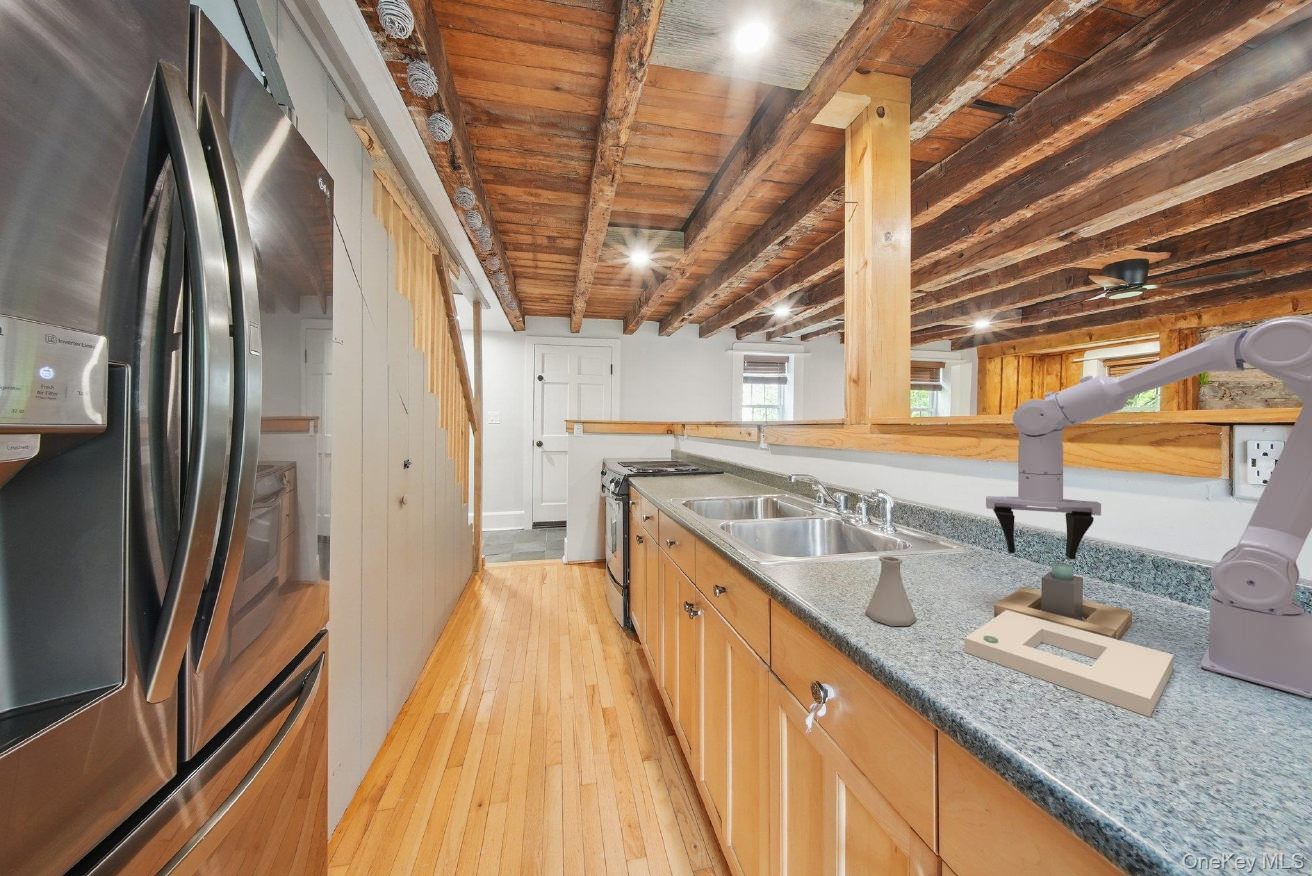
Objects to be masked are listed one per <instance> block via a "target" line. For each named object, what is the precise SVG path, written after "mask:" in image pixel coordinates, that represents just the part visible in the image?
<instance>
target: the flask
mask: <svg viewBox="0 0 1312 876" xmlns="http://www.w3.org/2000/svg"><path fill="white" fill-rule="evenodd" d="M878 561H880V563H881V564H880V566H881V567H880V574H879V579H878V581H877V584H876V587H875V589H874V591H873V594H872V597H871V598H870V601H869V604H868V606H867V607H866V610H865V612H864V614H865V615H867V616H868V617H869V618H870V619H872V620H873V621H875V622H878V623H881V624H884V625H888V626H890V627H897V626H900V627H901V626H902V627H903V626H906V627H907V626H911V625H912V624H914V623H915V622H917V621H918V620H917V616H916V614H915V611H914V610H913V607H912V605H911V602H910V600H909V597H908V594H907V592H906V590H905V589H906V588H905V586H904V583H903V580H902V579H903V578H902V574H901V564H902V563H903V558H902V559H901V558H899V557H897V556H891V555H882V556H880V557H879V559H878Z"/></svg>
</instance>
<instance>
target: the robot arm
mask: <svg viewBox="0 0 1312 876" xmlns="http://www.w3.org/2000/svg"><path fill="white" fill-rule="evenodd" d="M1244 364H1247V365H1249V366H1251V367H1252V368H1255V369H1257V370H1258V371H1260V372H1262V373H1264V374H1267V376H1271V377H1273V378H1275V379H1277V380H1279V381H1282V384H1283V385H1284V386H1285V387H1286V388H1287V389H1288V390H1289V391H1291V392H1292V393H1293V394H1294V395H1295V396H1296V397H1297V398H1299V400H1300V401H1302V403H1303V405H1302V408H1301V410H1300V412H1299V414H1298V416H1297V419H1296V420H1295V423H1294V425H1293V427H1292V429H1291V431H1290V434H1289V435H1288V438H1287V440H1286V442H1285V444H1284V446H1283V448H1282V450H1281V452H1280V455H1279V456H1278V459H1277V462H1276V464H1275V466H1274V468H1273V470H1272V472H1271V474H1270V476H1269V479H1268V481H1267V483H1266V485H1265V487H1264V489H1263V491H1262V493H1261V496H1260V498H1259V500H1258V502H1257V504H1256V506H1255V508H1254V511H1253V513H1252V515H1251V517H1250V519H1249V521H1248V523H1247V525H1246V527H1245V530H1244V531H1243V534H1242V535H1241V537H1240V539H1239V541H1238V542H1237V545H1236V546H1235V547H1233V548H1231V549H1229V550H1228V551H1226V552H1225V553H1224V554H1223V556H1222V558H1221V559H1220V561H1218V562H1217V563H1216V564H1215V565H1214V566H1213V568H1212V570H1211V572H1210V573H1211V574H1210V577H1211V582H1212V585H1213V586H1214V588H1215V589H1212V590H1210V592H1209V593H1210V594H1209V595H1210V596H1209V622H1208V623H1209V629H1208V630H1209V631H1208V647H1207V648H1206V650H1205V652H1204V654H1203V658H1202V660H1201V662H1200V667H1201V668H1202V669H1205V670H1208V671H1212V672H1215V673H1219V674H1222V675H1225V676H1228V677H1229V676H1230V677H1234V678H1236V679H1240V680H1245V681H1249V682H1252V683H1255V684H1259V685H1263V686H1266V687H1270V688H1273V689H1277V690H1281V691H1285V692H1288V693H1292V694H1296V695H1298V696H1303V697H1306V698H1309V699H1312V613H1309V612H1306V611H1304V605H1302V604H1301V603H1298V601H1297V600H1296V599H1295V598H1294V597H1295V594H1296V590H1297V588H1296V585H1297V584H1298V582H1299V580H1300V570H1299V568H1298V565H1297V560H1298V558H1299V555H1300V553H1301V551H1302V548H1303V547H1304V544H1305V542H1306V541H1307V538H1308V537H1309V535H1310V532H1311V531H1312V319H1310V318H1306V317H1299V316H1286V317H1285V316H1283V317H1278V318H1273V319H1270V320H1267V321H1264V322H1262V323H1260V324H1258V325H1256V326H1254V327H1252V328H1251V330H1249V329H1247V328H1243V329H1240V330H1235V331H1232V332H1229V333H1227V334H1224V335H1220V336H1217V337H1215V338H1212V339H1208V340H1206V341H1204V342H1202V343H1198V344H1197V345H1194V346H1192V347H1190V348H1186V349H1185V350H1182V351H1179V352H1177V353H1175V354H1173V355H1170V356H1167V357H1165V358H1163V359H1162V358H1161V359H1160V360H1157V361H1156V362H1153V363H1150V364H1148V365H1146V366H1144V367H1143V366H1142V367H1141V368H1138V369H1137V370H1133V371H1131V372H1129V373H1127V374H1124V375H1121V376H1118V377H1112V376H1108V375H1102V374H1100V375H1097V376H1095V377H1093V375H1086V376H1084V377H1082V378H1079V382H1080V383H1078V384H1075V385H1072V386H1070V387H1067V388H1065V389H1062V390H1059V391H1057V392H1054V391H1049V392H1046V393H1044V397H1045V398H1044V399H1039V398H1033V399H1028V400H1026V401H1025V402H1023V403H1021V404H1019V406H1018V407H1016V409H1015V410H1014V412H1013V415H1012V423H1013V425H1014V427H1015V428H1016V429H1017V430H1018V446H1017V450H1018V451H1017V454H1018V455H1017V462H1018V463H1017V466H1018V467H1017V469H1018V473H1017V474H1018V475H1017V477H1018V484H1017V485H1018V491H1017V492H1018V493H1017V494H1018V495H1017V496H993V495H991V496H990V495H986V496H985V507H986V509H987V510H992V511H993V513H994V514H995V515H996V518H997V520H998V522H999V524H1000V526H1001V530H1002V531H1003V534H1004V538H1005V541H1006V546H1007V551H1008V554H1015V552H1016V547H1015V535H1014V533H1015V532H1014V531H1015V518H1016V517H1015V515H1014V511H1013V510H1016V511H1032V512H1046V513H1047V512H1049V513H1065V515H1064V516H1065V522H1066V523H1065V524H1066V525H1065V526H1066V545H1065V555H1066V558H1068V560H1076V556H1077V552H1078V549H1079V547H1080V544H1081V541H1082V540H1083V537H1084V536H1085V535H1086V533H1087V531H1088V530H1089V529H1090V527H1092V525H1093V523H1094V519H1095V518H1094V517H1093V516H1102V503H1101V502H1098V501H1094V500H1092V501H1090V500H1079V499H1066V498H1064V444H1063V431H1064V430H1065V429H1066V428H1067V426H1071V427H1073V426H1077V425H1079V424H1083V423H1085V422H1089V421H1090V420H1094V419H1097V418H1100V417H1102V416H1106V415H1109V414H1112V413H1114V412H1118V411H1121V410H1123V409H1124V407H1125V406H1126V404H1127V402H1128V401H1129V399H1130V398H1131V397H1133V396H1136V395H1140V394H1144V393H1146V392H1150V391H1152V390H1155V389H1158V388H1161V387H1164V386H1166V385H1170V384H1175V383H1177V382H1180V381H1182V380H1186V379H1189V378H1192V377H1196V376H1199V375H1201V374H1204V373H1211V372H1245V368H1244V367H1245V366H1244Z"/></svg>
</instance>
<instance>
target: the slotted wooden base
mask: <svg viewBox="0 0 1312 876" xmlns="http://www.w3.org/2000/svg"><path fill="white" fill-rule="evenodd" d="M993 605H994V607H993V608H994V609H993V613H994V614H993V618H995V617H997V616H998V615H1000V614H1001V613H1003V612H1004V611H1006V610H1009V611H1012V612H1016V613H1020V614H1023V615H1027V616H1031V617H1035V618H1038V619H1042V620H1046V621H1050V622H1053V623H1057V624H1061V625H1064V626H1068V627H1072V628H1076V629H1079V630H1083V631H1087V632H1091V633H1094V634H1098V635H1102V636H1106V637H1109V638H1113V639H1117V640H1121V638H1122V637H1123V635H1124V634H1125V633H1126V632H1127V630H1128V629H1129V628H1130V627H1131V625H1132V624H1133V610H1129V609H1125V608H1121V607H1116V606H1112V605H1108V604H1104V603H1103V604H1102V603H1099V602H1094V601H1090V600H1085V599H1083V609H1082V618H1083V619H1084V618H1085V620H1084V621H1083V620H1082V621H1080V620H1076V619H1072V618H1068V617H1064V616H1060V615H1056V614H1052V613H1049V612H1045V611H1041V589H1036V588H1032V587H1029V586H1024V585H1023V586H1022V587H1019V588H1018V589H1017V590H1015V591H1014V592H1012V593H1011V594H1009V595H1008V596H1006V597H1004V598H1002V599H1001V600H999V601H998V602H996V603H994V604H993Z"/></svg>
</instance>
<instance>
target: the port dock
mask: <svg viewBox="0 0 1312 876" xmlns="http://www.w3.org/2000/svg"><path fill="white" fill-rule="evenodd" d="M963 643H964V645H963V647H964V649H963V652H964V653H966V654H969V655H972V656H975V657H977V658H981V659H983V660H986V661H989V662H991V663H995V664H998V665H1000V666H1003V667H1006V668H1009V669H1012V670H1014V671H1017V672H1020V673H1023V674H1026V675H1029V676H1032V677H1035V678H1037V679H1040V680H1043V681H1045V682H1049V683H1051V684H1054V685H1057V686H1060V687H1063V688H1066V689H1069V690H1072V691H1075V692H1077V693H1080V694H1082V695H1085V696H1088V697H1091V698H1094V699H1097V700H1100V701H1103V702H1106V703H1107V704H1111V705H1114V706H1117V707H1120V708H1123V709H1125V710H1128V711H1132V712H1135V713H1137V714H1139V715H1141V716H1142V715H1143V716H1146V717H1149V718H1151V716H1152V713H1153V711H1154V710H1155V708H1156V706H1157V704H1158V702H1159V699H1160V698H1161V695H1162V693H1163V692H1164V690H1165V688H1166V686H1167V683H1168V681H1169V680H1170V678H1171V675H1172V673H1173V671H1174V658H1175V657H1174V656H1175V654H1174V653H1172V654H1171V653H1168V652H1165V651H1161V650H1158V649H1154V648H1149V647H1145V646H1142V645H1138V644H1135V643H1131V642H1128V641H1123V640H1121V639H1119V640H1117V639H1113V638H1109V637H1106V636H1102V635H1098V634H1094V633H1091V632H1087V631H1083V630H1079V629H1076V628H1072V627H1068V626H1064V625H1061V624H1057V623H1053V622H1050V621H1046V620H1042V619H1038V618H1035V617H1031V616H1027V615H1023V614H1020V613H1016V612H1012V611H1009V610H1006V611H1004V612H1003V613H1001V614H1000V615H998V616H997V617H993V618H992V619H990V620H989V621H988V622H986V623H985V624H983V625H982V626H980V627H979V628H977V629H976V630H974V631H973V632H971V633H969V634H968V635H967V636H965V637H964V641H963ZM1041 643H1042V644H1046V645H1050V646H1052V647H1056V648H1059V649H1061V650H1062V649H1063V650H1067V651H1069V652H1072V653H1076V654H1078V655H1079V654H1080V655H1082V656H1086V657H1089V658H1092V659H1096V660H1095V662H1094V663H1093V664H1092V665H1088V664H1085V663H1083V662H1079V661H1076V660H1073V659H1069V658H1067V657H1063V656H1060V655H1057V654H1053V653H1050V652H1047V651H1044V650H1040V649H1038V648H1037V647H1038V646H1039V645H1040V644H1041Z"/></svg>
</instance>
